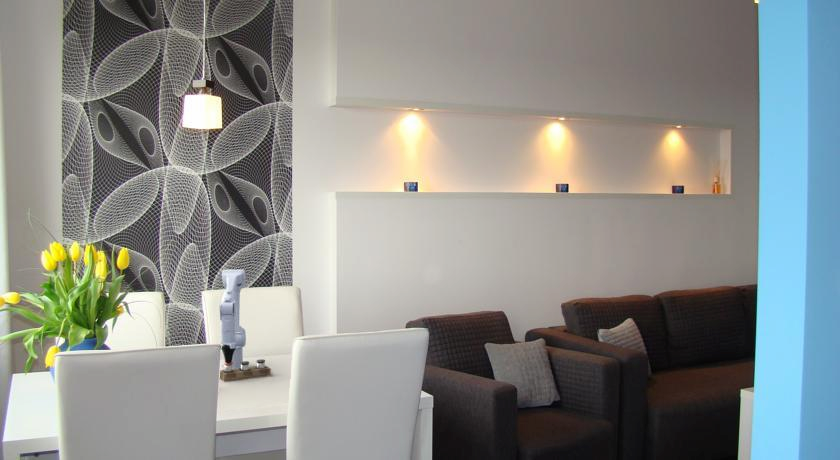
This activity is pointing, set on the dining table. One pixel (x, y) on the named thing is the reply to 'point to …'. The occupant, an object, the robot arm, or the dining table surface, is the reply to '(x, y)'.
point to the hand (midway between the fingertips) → (228, 362)
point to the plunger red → (228, 367)
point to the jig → (245, 373)
